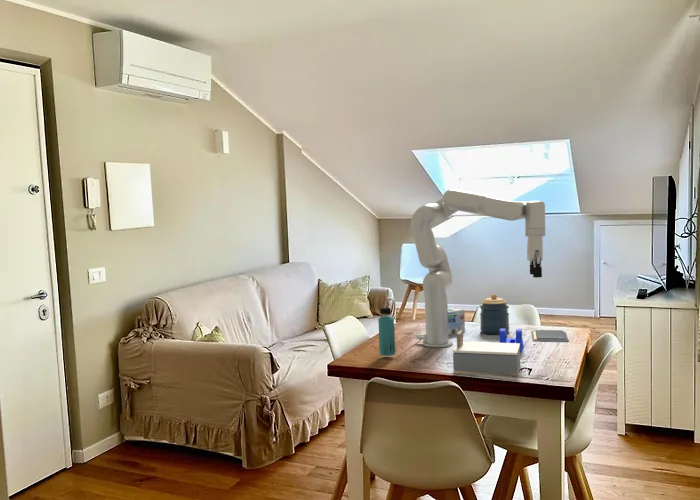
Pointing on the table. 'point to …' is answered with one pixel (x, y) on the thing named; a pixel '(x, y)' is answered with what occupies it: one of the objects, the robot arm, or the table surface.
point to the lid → (485, 347)
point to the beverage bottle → (386, 333)
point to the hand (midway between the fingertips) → (535, 275)
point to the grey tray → (486, 363)
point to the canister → (494, 315)
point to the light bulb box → (456, 320)
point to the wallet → (549, 336)
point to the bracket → (512, 340)
